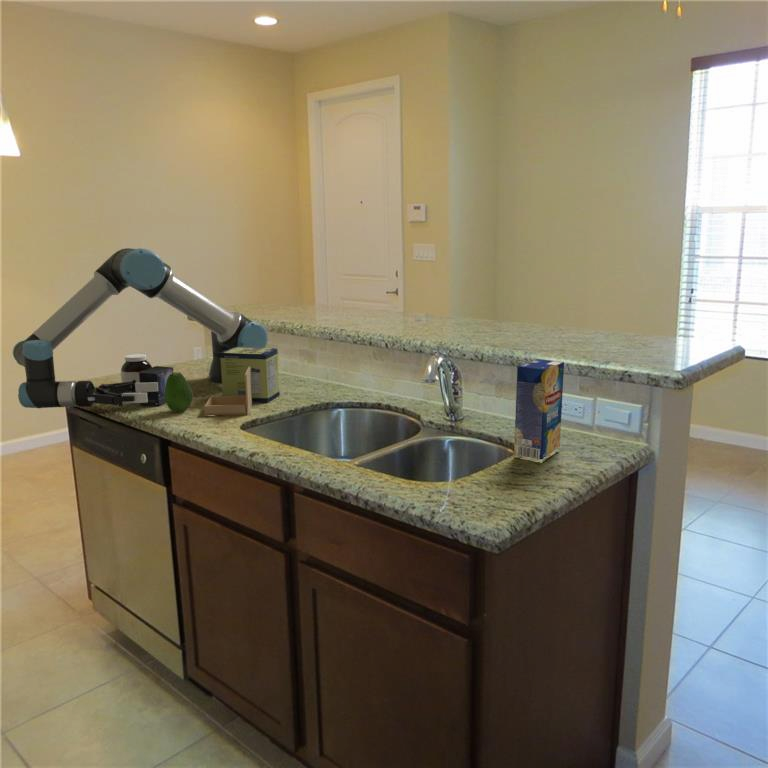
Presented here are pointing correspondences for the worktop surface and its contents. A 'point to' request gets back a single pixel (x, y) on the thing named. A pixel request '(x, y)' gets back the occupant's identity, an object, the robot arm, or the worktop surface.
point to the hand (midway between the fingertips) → (152, 392)
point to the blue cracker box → (538, 408)
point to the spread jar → (134, 367)
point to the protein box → (261, 369)
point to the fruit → (177, 393)
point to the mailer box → (231, 402)
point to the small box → (156, 375)
